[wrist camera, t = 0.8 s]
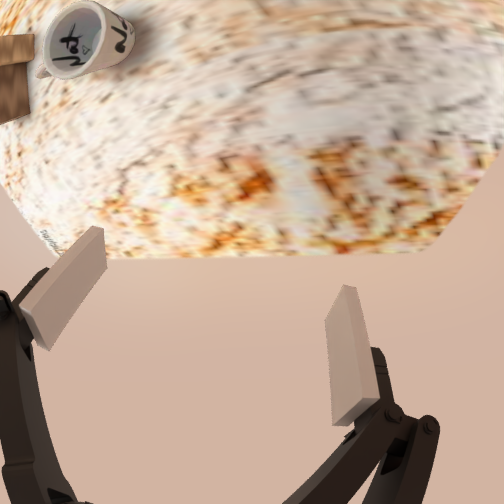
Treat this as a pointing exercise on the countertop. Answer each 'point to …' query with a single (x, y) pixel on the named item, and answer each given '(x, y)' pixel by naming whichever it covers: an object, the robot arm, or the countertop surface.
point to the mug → (84, 41)
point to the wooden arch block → (16, 49)
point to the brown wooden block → (13, 92)
